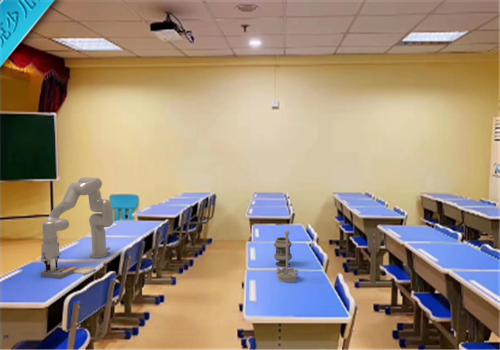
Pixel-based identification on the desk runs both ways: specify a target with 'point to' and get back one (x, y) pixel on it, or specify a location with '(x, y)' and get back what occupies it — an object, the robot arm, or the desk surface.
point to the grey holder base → (57, 273)
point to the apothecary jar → (282, 251)
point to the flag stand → (286, 273)
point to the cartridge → (52, 264)
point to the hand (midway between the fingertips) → (51, 268)
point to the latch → (70, 269)
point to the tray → (85, 270)
